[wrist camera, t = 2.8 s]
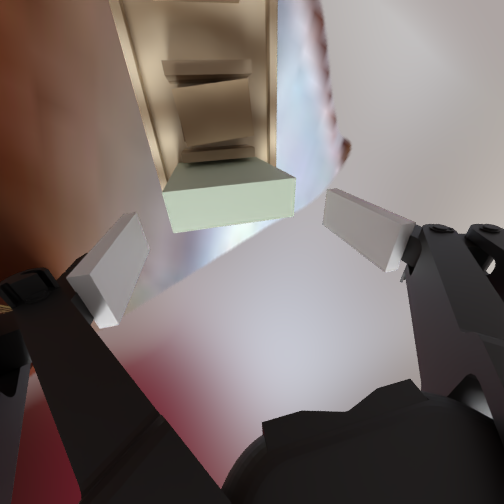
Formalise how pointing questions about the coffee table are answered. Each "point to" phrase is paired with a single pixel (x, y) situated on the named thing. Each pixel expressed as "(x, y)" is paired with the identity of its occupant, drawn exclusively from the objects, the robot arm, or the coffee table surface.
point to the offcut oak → (214, 111)
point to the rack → (199, 70)
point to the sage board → (227, 193)
